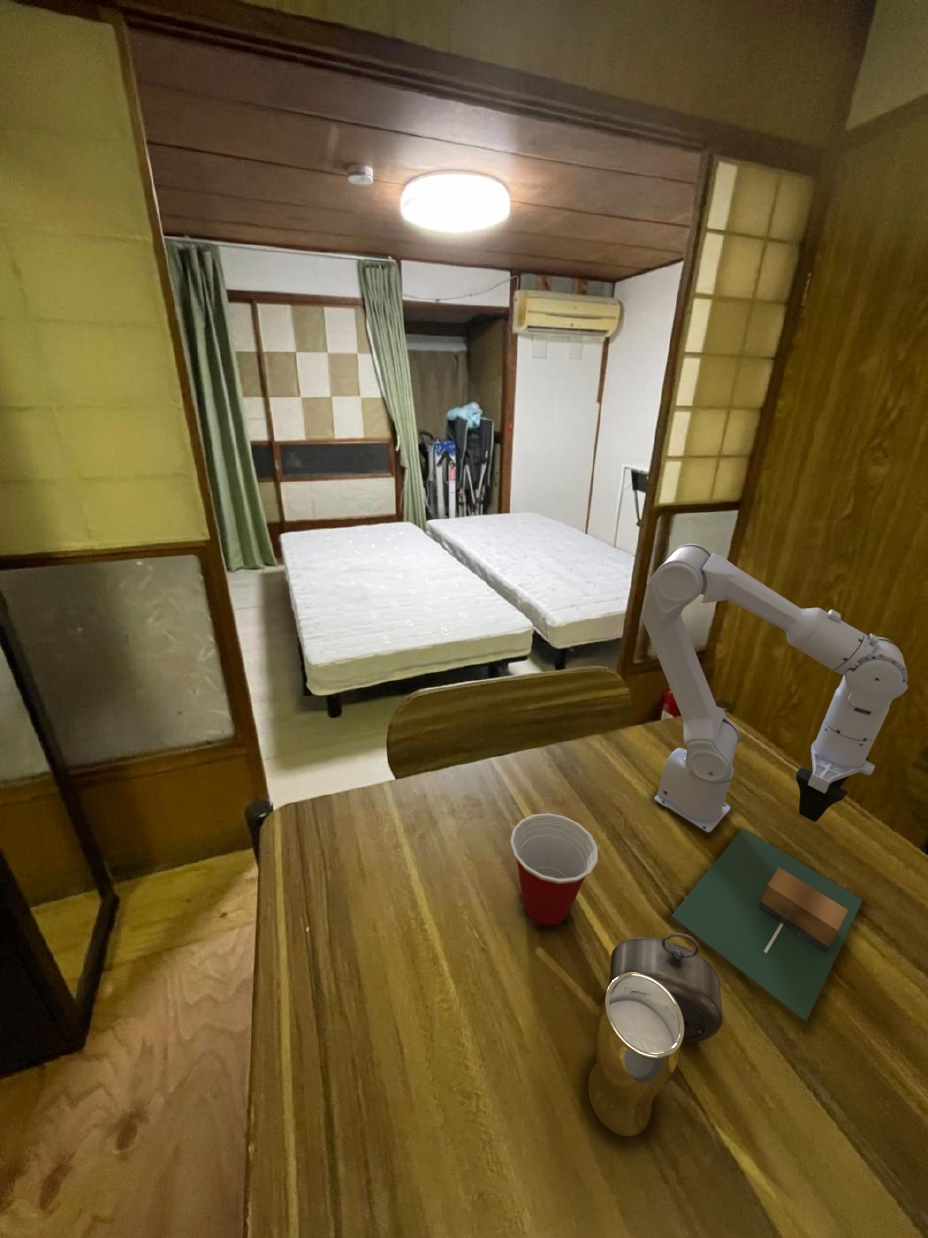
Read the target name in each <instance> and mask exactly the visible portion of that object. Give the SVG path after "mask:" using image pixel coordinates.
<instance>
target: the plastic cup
mask: <svg viewBox="0 0 928 1238" xmlns="http://www.w3.org/2000/svg"><path fill="white" fill-rule="evenodd" d="M510 846H511V849H512V852H513V855H514V859H515V860H516V865H517V872H518V878H519V885H520V891H521V895H522V902H523V907H524V909H525V911H526V912H525V913H526V914H527V916H528V917H529V918H530V920H532V922H534V923H535V924H537V925H539V926H543V927H546V926H552V925H558V924H560V923H561V922H563V921H564V920H565V919H566V918H567V916H568V914H569V913H570V909H571V907H572V905H573V904H574V903H575V900H576V898H577V896H578V894H579V891H580V889H581V887H582V885H583V883H584V881H585V878H586V877H587V876H589V875H590V874H591V872H592V871H593V869H594V868H595V866H596V865H597V863H598V860H599V859H598V856H599V855H598V852H599V849H598V846H597V844H596V842H595V840H594V838H593V835H592V834H591V833H590V832H589V831H588V830H587V829H585V827H583V826H582V824H580V823H579V822H576V821H575V820H573V819H571V818H569V817H567V816H564V815H560V814H555V813H551V812H549V813H548V812H546V813H535V814H532V815H529V816H527V817H525V818H522V819H521V820H520V821H519V822H518V823H517V824H516V825H515V826H514V827H513V828H512V832H511V838H510Z"/></svg>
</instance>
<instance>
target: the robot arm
mask: <svg viewBox="0 0 928 1238" xmlns="http://www.w3.org/2000/svg"><path fill="white" fill-rule="evenodd" d="M646 586H647V587H646V588H647V590H646V591H647V592H646V595H645V600H644V604H643V609H642V612H641V618H642V622H643V625H644V626H645V627H644V628H645V629H646V631H647V634H648V636H649V639H650V641H651V645H652V646H653V650H654V651H655V653H656V656H657V659H658V661H659V664H660V666H661V669H662V672H663V675H664V676H665V679H666V681H667V684H668V686H669V689H670V691H671V694H672V696H673V698H674V701H675V703H676V706H677V709H678V710H679V711H678V712H679V713H680V715H681V718H682V722H683V724H682V725H683V744H684V745H685V746H684V747H685V748H682V747H677V748H675V749H674V750H673V751H672V752H671V753H670V755H669V756H668V758H667V760H666V762H665V764H664V766H663V769H662V774H661V777H660V782H659V784H658V790H657V793H656V795H655V796H654V798H653V799H654V801H655V802H656V803H658V804H660V805H661V806H663V807H664V808H666V809H667V808H669V809H670V810H671V811H673V812H675V813H676V814H678V815H679V816H681V817H683V818H684V819H686V820H688V821H689V822H691V824H694V825H695V826H696V827H698V828H700V829H701V830H703V831H705V832H706V833H711V832H712V831H713V829H715V827H716V826H717V825H718V824H719V823H720V822H721V820H722V819H723V818H724V817H725V816H726V815H727V814H728V813H729V811H731V808H732V807H731V806H730V805H728V804H727V803H725V801H726V798H727V795H728V792H729V789H730V786H731V784H732V783H731V782H732V780H733V776H734V773H735V769H734V766H733V763H734V760H735V755H736V751H737V747H738V745H739V743H740V739H741V736H740V735H741V734H740V731H739V729H738V727H737V726H736V725H735V724H734V723H733V722H732V721H731V720H730V719H729V718H728V716H727V715H726V713H725V710H724V709H723V708H721V707H720V706H718V705H717V704H716V701H715V698H714V697H713V696H714V695H713V693H712V690H711V689H710V685H709V683H708V681H707V679H706V675H705V673H704V671H703V668H702V666H701V663H700V661H699V658H698V656H697V653H696V650H695V648H694V645H693V642H692V639H691V637H690V635H689V632H688V630H687V627H686V624H685V622H684V619H683V617H682V612H683V611H684V609H685V608H686V607H688V606H689V605H690V604H691V603H693V602H694V601H695V600H696V599H697V598H698V597H699V596H700V595H703V597H702V599H701V603H702V604H709V603H715V602H721V601H722V602H723V601H729V602H731V603H733V604H735V605H737V606H738V607H740V608H742V609H744V610H746V611H748V612H750V613H752V614H754V615H756V616H758V617H759V618H761V619H763V620H765V621H767V622H768V623H771V624H772V625H774V626H776V627H777V628H780V629H781V630H783V631H784V632H785V635H786V641H787V643H788V645H790V646H792V647H793V648H795V649H797V650H798V651H800V652H801V653H803V654H805V655H807V656H808V657H810V658H812V659H813V660H815V661H816V662H818V663H819V664H822V665H823V666H825V667H826V668H827V669H830V670H831V671H833V672H835V673H837V674H839V675H842V679H841V681H840V683H839V686H838V687H837V688H836V689H835V692H834V694H833V697H832V699H831V702H830V704H829V707H828V709H827V711H826V713H825V716H824V719H823V721H822V724H821V727H820V729H819V731H818V734H817V736H816V738H815V740H813V742H812V744H811V746H810V752H811V753H810V754H811V764H812V770H810V769H808V768H806V767H804V766H800V767H799V769H798V770H797V771H796V775H795V780H796V783H797V786H798V789H799V801H798V803H799V804H798V814H799V815H800V816H802V817H804V818H805V819H807V820H809V821H812V822H813V823H816V822H817V821H819V819H820V818H821V817H822V816H823V815H824V813H825V812H826V811H827V810H828V809H829V808H830V807H831V806H833V805H834V804H836V803H839V802H841V801H842V800H843V799H844V798H845V797H846V796H847V795H848V790H846V789H843V788H842V786H843V785H844V783H845V782H846V780H847V779H848V778H849V777H850V776H852V775H855V774H858V773H861V774H864V775H867V776H871V775H872V774H873V772H874V770H875V768H876V766H875V765H874V764H873V763H871V762H869V756H868V755H869V753H870V751H871V749H872V747H873V745H874V743H875V740H876V739H877V736H878V735H879V732H880V730H881V728H882V725H883V724H884V721H885V719H886V717H887V715H888V713H889V710H890V705H891V703H892V701H893V700H895V699H896V698H899V697H900V696H902V695H903V694H905V692H907V690H908V688H909V686H908V684H907V683H908V679H909V677H908V671H907V667H906V663H905V659H904V656H903V653H902V651H901V650H900V649H899V647H898V646H897V645H895V644H894V643H893V642H892V641H891V640H890V639H889V638H886V637H882V636H876V635H875V634H873V633H870V634H868V635H867V634H865V632H863V631H860V630H859V629H857V628H855V627H854V626H852V625H850V624H848V623H846V622H845V621H843V620H842V615H841V613H839V612H838V611H836V610H834V609H830V610H829V611H826V610H824V609H822V608H820V607H809V608H801V607H799V606H798V605H797V604H794V603H793V602H791V601H790V600H788V599H787V598H786V597H784V596H782V595H781V594H779V593H777V592H776V591H775V590H773V589H771V588H770V587H768V586H766V585H765V584H764V583H762V582H760V581H759V580H758V579H756V578H754V577H752V576H751V575H750V574H748V573H746V572H745V571H743V569H740V568H739V567H737V566H736V565H735V564H733V563H732V562H730V560H728V559H727V558H725V557H724V556H722V555H721V554H718V553H716V552H712V553H711V552H710V551H709V550H708V549H707V548H706V547H704V546H702V545H699V544H696V543H686V544H682V545H680V546H678V547H676V548H675V549H674V550H672V552H671V553H670V554H669V556H668V557H667V559H666V560H665V561H664V562H663V563H662V564H661V565H660V566H659V567H658V568H657V569H656V571H655V572H654V573H653V575H652V576H651V577H650V579H649V580H648V582H647V583H646Z"/></svg>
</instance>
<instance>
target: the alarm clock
mask: <svg viewBox="0 0 928 1238" xmlns="http://www.w3.org/2000/svg"><path fill="white" fill-rule="evenodd" d="M676 937H677V938H683V939H687V940H689V941H690V942H692V944H694V946H695V950H693V949H691V948H689V947H687V946H685V945H683V944H680V943H677V942H674V941H671V940H668V939H671V938H676ZM699 952H700V945H699V943H698V941H697V940H696V939H695V938H694V937H692V936H691V935H688V934H686V933H681V932H672V933H667V934H666V935H664V937H662V938H657V937H640V936H639V937H633V938H629V939H626V940H624V941H621V942H620V943H619V944H617V945H616V946H615V947H614V949H613V950H612V952H611V955H610V968H609V969H610V971H609V980H608V981H609V982H608V986H609V985H610V984H611V982H612V981H613V980H614V979H615V978H616V977H618V976H620V975H622V974H625V973H631V972H634V973H641V974H645V975H647V976H650V977H652V978H654V979H655V980H657V981H658V982H660V983H661V984H662V985H663V986H664V987H666V988H667V990H668V991H669V992H670V993H671V994H672V995H673V997H674V998H675V1000H676V1002H677V1003H678V1005H679V1007H680V1010H681V1012H682V1016H683V1020H684V1036H683V1040H682V1043H698V1042H702V1041H705V1040H708V1039H710V1038H712V1037H713V1036H715V1035H716V1034H717V1033H718V1032H719V1030H720V1029H721V1027H722V1024H723V1017H724V1016H723V1015H724V1014H723V1005H722V993H721V992H722V991H721V980H720V977H719V974H718V973H717V970H716V969H715V968H714V967H713V966H712V964H711V963H710V962H709V961H708V960H707V959H706V958H705V957H703V956H702V955H700V954H699Z"/></svg>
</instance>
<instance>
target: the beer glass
mask: <svg viewBox="0 0 928 1238" xmlns="http://www.w3.org/2000/svg"><path fill="white" fill-rule="evenodd" d="M683 1036H684V1020H683V1016H682V1012H681V1010H680V1007H679V1005H678V1003H677V1002H676V1000H675V998H674V997H673V995H672V994H671V993H670V992H669V991H668V990H667V988H666V987H664V986H663V985H662V984H661V983H660V982H658V981H657V980H655V979H654V978H652V977H650V976H647V975H645V974H641V973H634V972H631V973H625V974H622V975H620V976H618V977H616V978H615V979H614V980H613V981H612V982H611V984H610V985H609V984H608V987H607V988H606V993H605V996H604V997H603V1000H602V1003H601V1006H600V1008H599V1013H598V1016H597V1021H596V1027H595V1042H594V1043H595V1054H596V1055H595V1057H596V1063H595V1064H594V1065H593V1066H592V1068H591V1070H590V1073H589V1076H588V1080H587V1092H588V1098H589V1099H588V1100H589V1103H590V1106H591V1107H592V1110H593V1112H594V1114H595V1116H596V1118H597V1120H599V1121H600V1123H601V1124H602V1125H603V1126H604V1127H605V1128H606V1129H608V1130H609V1131H610V1132H612V1133H614V1134H615V1135H619V1136H622V1137H634V1136H637V1135H639V1134H640V1133H642V1132H643V1131H644V1130H645V1129H646V1127H648V1124H649V1122H650V1119H651V1117H652V1116H651V1114H652V1107H653V1105H652V1104H653V1100H654V1099H655V1098H656V1097H657V1096H658V1095H659V1094H660V1093H661V1092H662V1091H663V1090H664V1089H665V1087H666V1086H667V1085H668V1084H669V1082H670V1080H671V1078H672V1076H673V1074H674V1071H676V1067H677V1064H678V1061H679V1057H680V1052H681V1048H682V1044H683V1042H682V1040H683Z"/></svg>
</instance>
